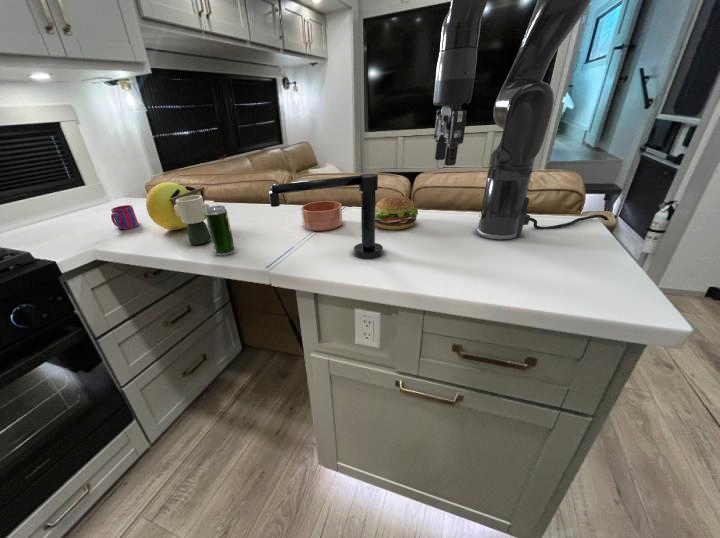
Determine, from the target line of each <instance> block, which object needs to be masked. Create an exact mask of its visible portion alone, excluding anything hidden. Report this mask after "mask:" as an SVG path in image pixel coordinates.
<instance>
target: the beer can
mask: <svg viewBox="0 0 720 538" xmlns="http://www.w3.org/2000/svg"><path fill="white" fill-rule="evenodd" d="M205 208H206V207H205ZM227 210H228V209H226V206H225V205H220V204H219V205H211V206H209V207H208V208H206V209H205V215H206V219H205V220H206V224H207V228H208V230H209V233H210V236H211V239H210V240H211V243H212V246H213V250H214V253H215V254H216V256H219V257H224V256H229V255H232V254H234V253H235V249H236V246H235V243H234V238H233V233H232V228H231V225H230V220H229V219H230V218H229V215H228V211H227Z"/></svg>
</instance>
